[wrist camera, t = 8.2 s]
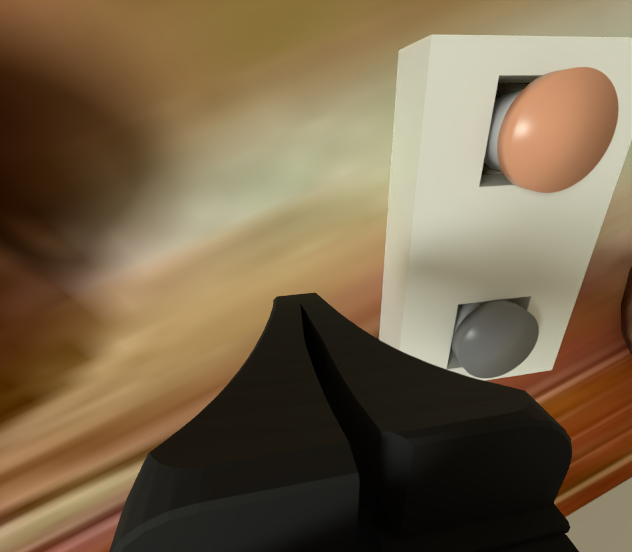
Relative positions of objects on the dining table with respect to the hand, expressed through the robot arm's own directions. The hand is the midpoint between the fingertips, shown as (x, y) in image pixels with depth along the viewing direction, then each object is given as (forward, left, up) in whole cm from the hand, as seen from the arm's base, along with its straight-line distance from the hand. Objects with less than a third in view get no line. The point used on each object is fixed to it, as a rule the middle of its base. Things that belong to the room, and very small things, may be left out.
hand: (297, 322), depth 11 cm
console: (-1, -13, -10) cm, 17 cm away
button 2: (+5, -13, -9) cm, 16 cm away
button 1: (-7, -13, -9) cm, 17 cm away
